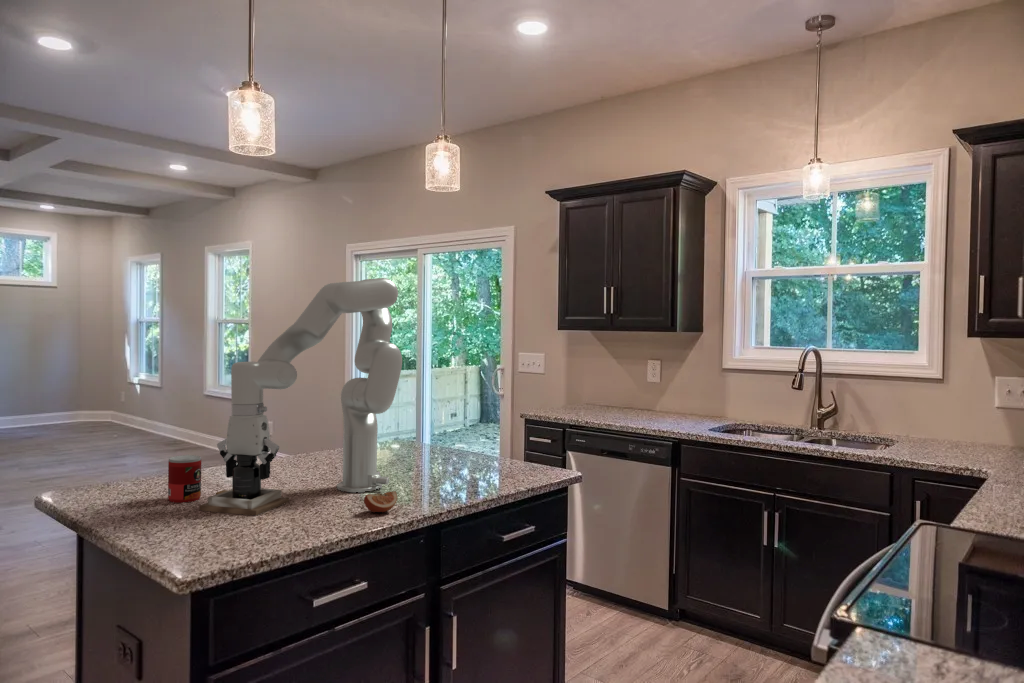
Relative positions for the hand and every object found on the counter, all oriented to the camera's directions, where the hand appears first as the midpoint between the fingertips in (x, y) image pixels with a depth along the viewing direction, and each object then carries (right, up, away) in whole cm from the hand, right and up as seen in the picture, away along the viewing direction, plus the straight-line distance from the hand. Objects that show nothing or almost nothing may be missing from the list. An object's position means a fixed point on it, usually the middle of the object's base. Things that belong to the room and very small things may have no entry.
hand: (248, 477), depth 169 cm
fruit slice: (+35, -8, -4) cm, 36 cm away
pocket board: (0, -7, 0) cm, 7 cm away
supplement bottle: (0, -6, 0) cm, 6 cm away
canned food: (-19, -7, +5) cm, 21 cm away
